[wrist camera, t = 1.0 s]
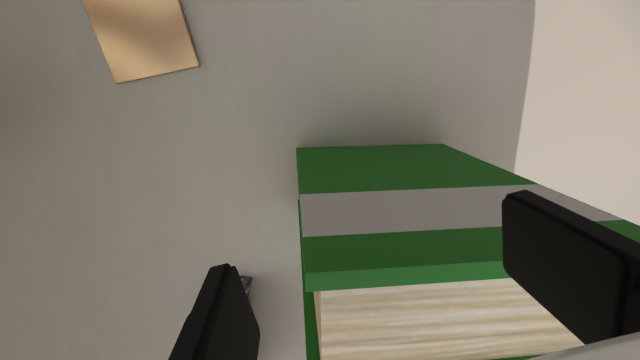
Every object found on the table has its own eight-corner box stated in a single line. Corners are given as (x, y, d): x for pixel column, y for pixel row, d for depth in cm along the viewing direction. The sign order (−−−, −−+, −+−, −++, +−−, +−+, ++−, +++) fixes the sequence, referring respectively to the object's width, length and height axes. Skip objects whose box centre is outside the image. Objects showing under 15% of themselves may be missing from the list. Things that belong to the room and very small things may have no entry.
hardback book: (298, 207, 37) (309, 403, 15) (296, 148, 35) (304, 273, 12) (435, 200, 39) (640, 370, 16) (442, 143, 36) (693, 248, 14)
